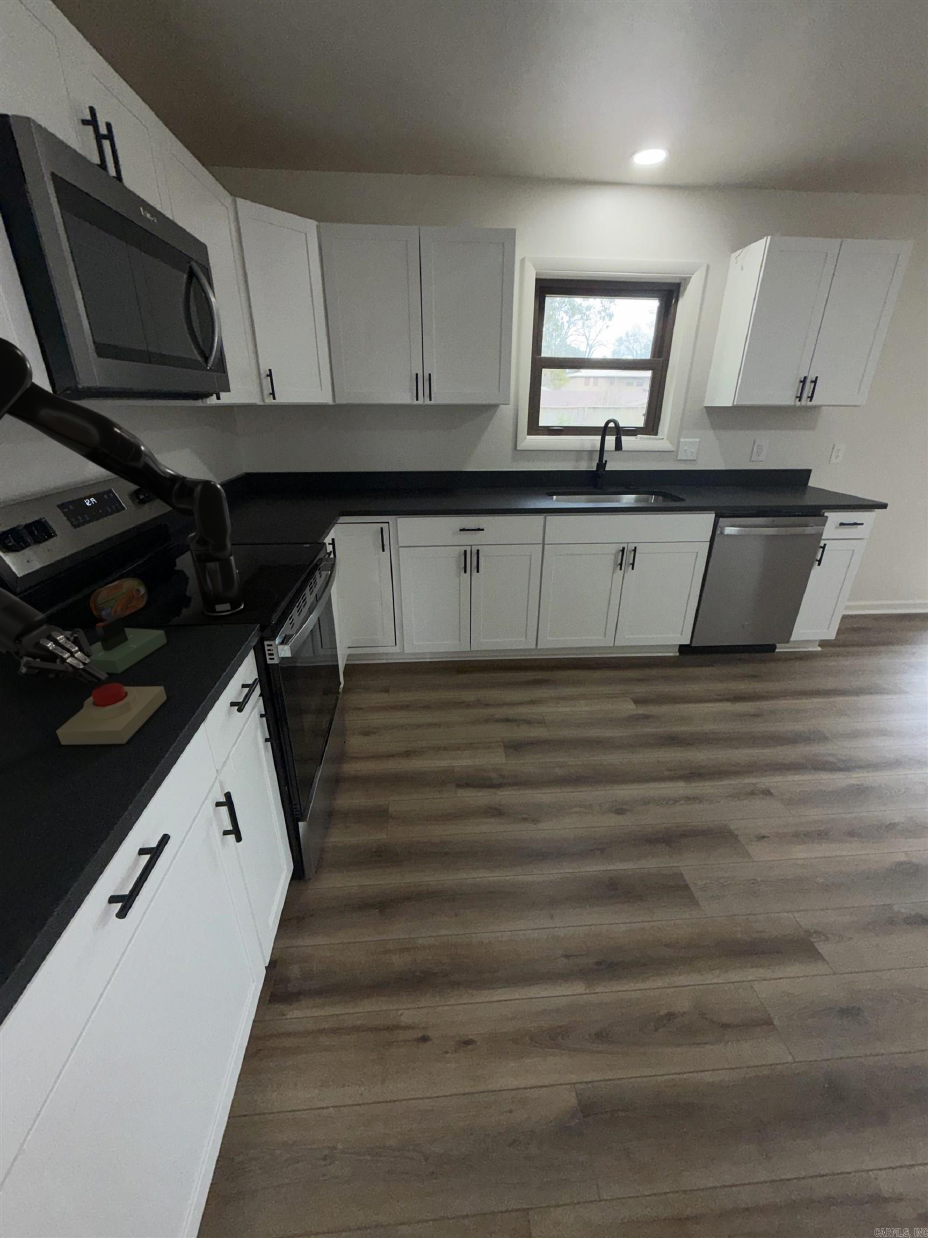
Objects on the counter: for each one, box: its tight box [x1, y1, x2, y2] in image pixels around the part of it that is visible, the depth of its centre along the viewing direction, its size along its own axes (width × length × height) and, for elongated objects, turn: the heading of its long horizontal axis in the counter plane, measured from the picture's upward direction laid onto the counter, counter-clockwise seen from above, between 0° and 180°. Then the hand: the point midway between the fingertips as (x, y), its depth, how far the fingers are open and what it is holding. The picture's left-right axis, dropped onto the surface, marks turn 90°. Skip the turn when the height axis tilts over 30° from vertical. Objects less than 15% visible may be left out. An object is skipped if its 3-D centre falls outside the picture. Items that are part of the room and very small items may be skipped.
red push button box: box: [55, 685, 168, 746], centre depth 84 cm, size 13×10×4 cm
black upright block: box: [94, 616, 128, 651], centre depth 103 cm, size 5×2×6 cm, turn 171°
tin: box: [89, 577, 149, 621], centre depth 125 cm, size 15×3×8 cm, turn 168°
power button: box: [91, 682, 126, 707], centre depth 83 cm, size 4×4×2 cm
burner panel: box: [73, 627, 168, 674], centre depth 106 cm, size 14×10×3 cm
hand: (103, 682), depth 82 cm, fingers closed
